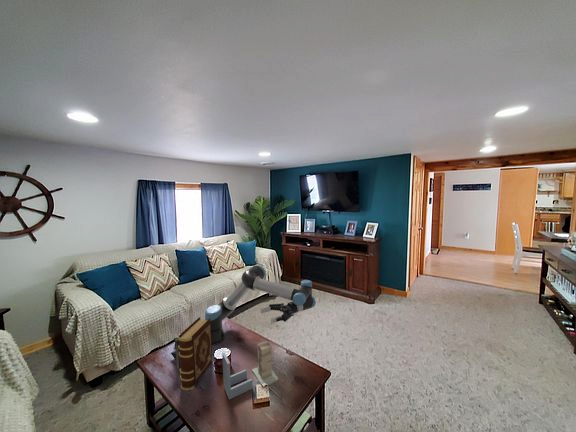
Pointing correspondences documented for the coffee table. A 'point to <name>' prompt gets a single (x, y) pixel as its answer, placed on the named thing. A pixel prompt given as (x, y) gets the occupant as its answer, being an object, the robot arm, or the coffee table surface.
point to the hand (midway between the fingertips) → (265, 316)
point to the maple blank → (264, 360)
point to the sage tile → (267, 380)
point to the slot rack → (234, 380)
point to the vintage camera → (176, 352)
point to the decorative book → (195, 352)
